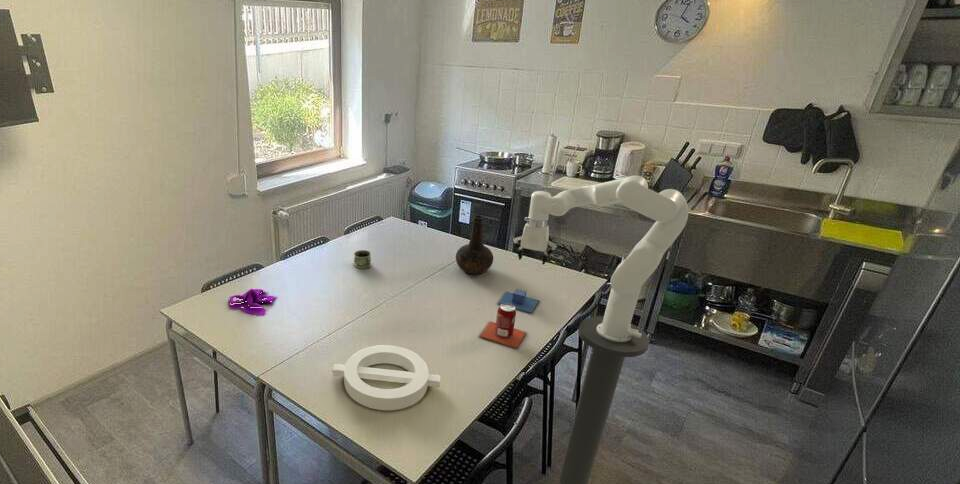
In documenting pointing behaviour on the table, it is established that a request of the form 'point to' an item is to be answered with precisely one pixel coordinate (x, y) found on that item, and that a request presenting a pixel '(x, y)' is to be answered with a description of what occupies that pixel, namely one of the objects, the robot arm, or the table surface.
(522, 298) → the blue block
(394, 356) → the white circle with bar
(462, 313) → the table surface
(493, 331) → the orange mat
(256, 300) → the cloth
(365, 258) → the vessel
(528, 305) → the blue mat
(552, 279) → the table surface
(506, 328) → the soda can
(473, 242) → the brown vase
